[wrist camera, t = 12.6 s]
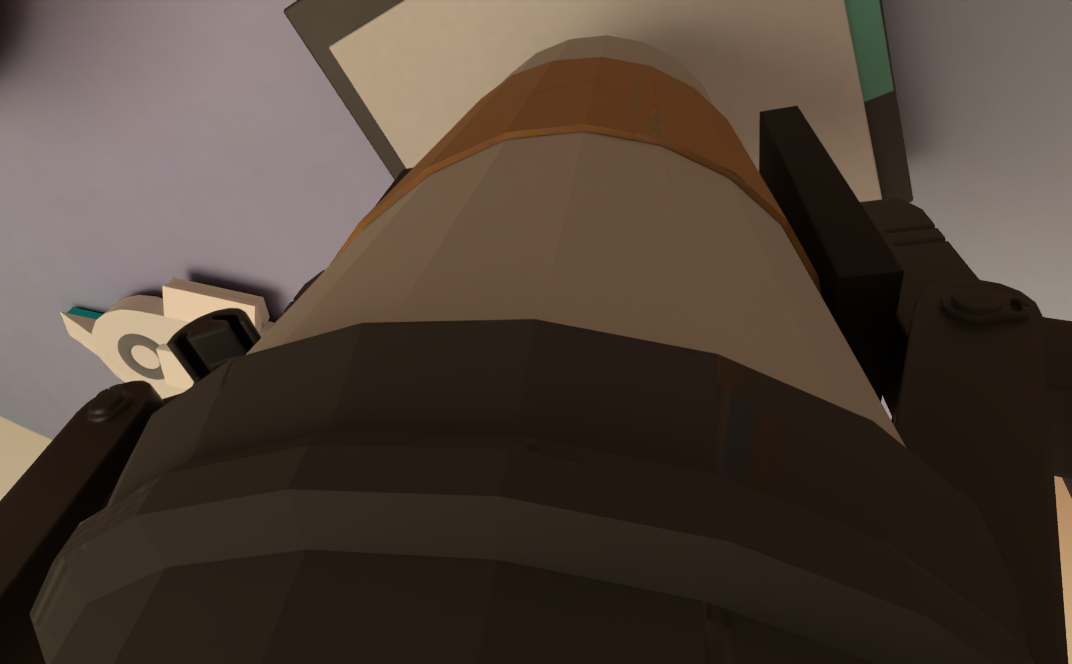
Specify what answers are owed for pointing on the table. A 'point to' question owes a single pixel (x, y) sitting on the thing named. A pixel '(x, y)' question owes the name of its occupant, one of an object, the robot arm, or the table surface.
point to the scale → (632, 13)
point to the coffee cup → (543, 431)
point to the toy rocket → (156, 330)
